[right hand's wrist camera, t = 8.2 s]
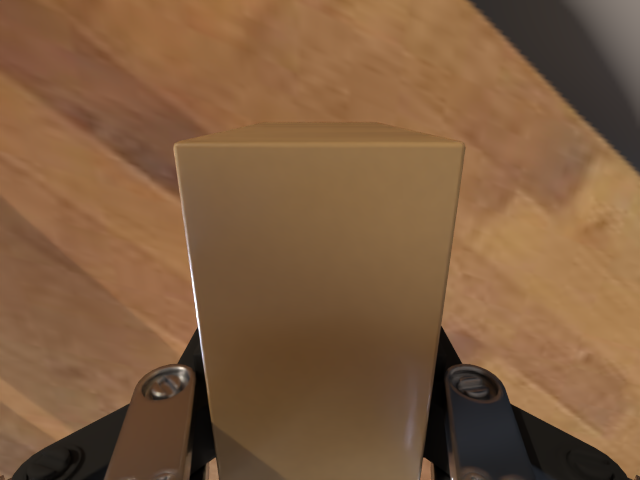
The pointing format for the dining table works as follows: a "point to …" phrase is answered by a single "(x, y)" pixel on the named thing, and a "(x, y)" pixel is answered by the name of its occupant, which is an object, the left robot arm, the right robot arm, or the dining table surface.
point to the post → (319, 292)
